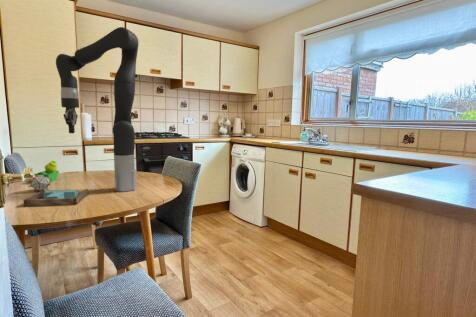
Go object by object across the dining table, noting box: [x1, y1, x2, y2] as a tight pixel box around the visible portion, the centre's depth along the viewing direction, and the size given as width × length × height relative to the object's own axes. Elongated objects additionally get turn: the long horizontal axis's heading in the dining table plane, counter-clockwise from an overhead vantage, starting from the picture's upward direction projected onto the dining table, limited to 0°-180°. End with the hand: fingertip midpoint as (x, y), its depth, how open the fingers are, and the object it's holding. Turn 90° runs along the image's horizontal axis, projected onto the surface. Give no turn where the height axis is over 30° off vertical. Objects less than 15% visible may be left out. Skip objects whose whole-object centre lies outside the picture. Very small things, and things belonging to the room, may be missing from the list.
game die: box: [28, 173, 51, 192], centre depth 134 cm, size 9×8×10 cm
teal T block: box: [43, 189, 79, 199], centre depth 121 cm, size 12×11×3 cm
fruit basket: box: [33, 160, 60, 184], centre depth 153 cm, size 11×9×11 cm
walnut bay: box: [22, 189, 89, 208], centre depth 120 cm, size 19×15×2 cm
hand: (71, 133), depth 142 cm, fingers closed
